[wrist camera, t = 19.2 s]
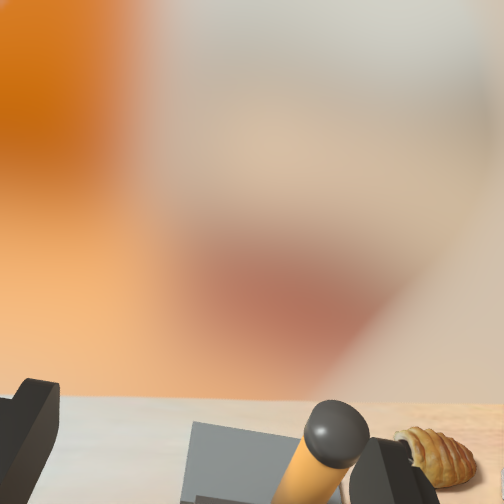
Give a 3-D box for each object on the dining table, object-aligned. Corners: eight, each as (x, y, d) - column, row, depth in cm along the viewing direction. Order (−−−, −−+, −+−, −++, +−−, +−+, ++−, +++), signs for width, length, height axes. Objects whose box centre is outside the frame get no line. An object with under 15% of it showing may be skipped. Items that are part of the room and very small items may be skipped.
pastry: (454, 443, 56) (468, 423, 54) (482, 495, 51) (499, 475, 49) (386, 437, 55) (398, 416, 53) (407, 491, 49) (421, 469, 47)
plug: (269, 535, 41) (314, 451, 33) (267, 482, 45) (307, 396, 37) (319, 539, 41) (375, 458, 34) (313, 487, 45) (362, 403, 38)
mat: (179, 504, 42) (180, 500, 42) (192, 424, 50) (193, 421, 49) (343, 528, 43) (345, 524, 43) (330, 447, 51) (332, 444, 51)
